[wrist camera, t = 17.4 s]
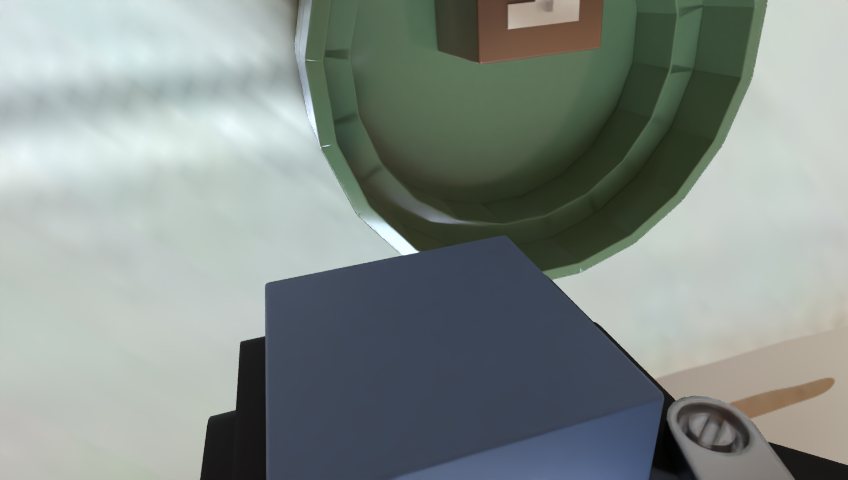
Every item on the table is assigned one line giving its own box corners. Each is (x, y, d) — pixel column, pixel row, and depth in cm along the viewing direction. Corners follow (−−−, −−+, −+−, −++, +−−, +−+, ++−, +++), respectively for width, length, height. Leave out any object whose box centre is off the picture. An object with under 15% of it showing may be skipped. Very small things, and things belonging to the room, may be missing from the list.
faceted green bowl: (249, -186, 18) (245, -260, 13) (686, -196, 22) (820, -255, 17) (334, 262, 26) (353, 328, 21) (640, 197, 30) (720, 239, 25)
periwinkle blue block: (264, 281, 10) (266, 521, 5) (506, 233, 11) (673, 400, 6) (310, 461, 12) (337, 733, 8) (506, 407, 13) (629, 617, 9)
